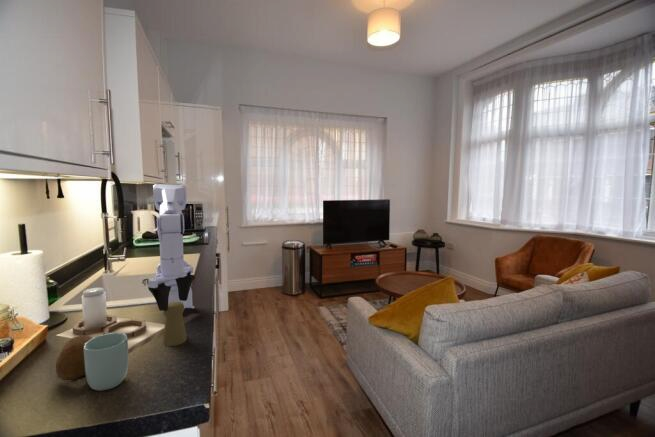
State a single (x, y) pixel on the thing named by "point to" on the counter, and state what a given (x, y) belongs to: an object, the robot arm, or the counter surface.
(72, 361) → the potato
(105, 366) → the cup
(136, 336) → the cruet stand
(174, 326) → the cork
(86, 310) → the salt shaker
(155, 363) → the counter surface
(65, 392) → the counter surface
